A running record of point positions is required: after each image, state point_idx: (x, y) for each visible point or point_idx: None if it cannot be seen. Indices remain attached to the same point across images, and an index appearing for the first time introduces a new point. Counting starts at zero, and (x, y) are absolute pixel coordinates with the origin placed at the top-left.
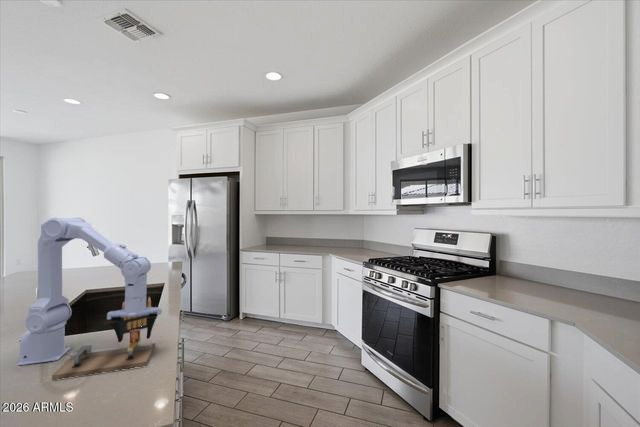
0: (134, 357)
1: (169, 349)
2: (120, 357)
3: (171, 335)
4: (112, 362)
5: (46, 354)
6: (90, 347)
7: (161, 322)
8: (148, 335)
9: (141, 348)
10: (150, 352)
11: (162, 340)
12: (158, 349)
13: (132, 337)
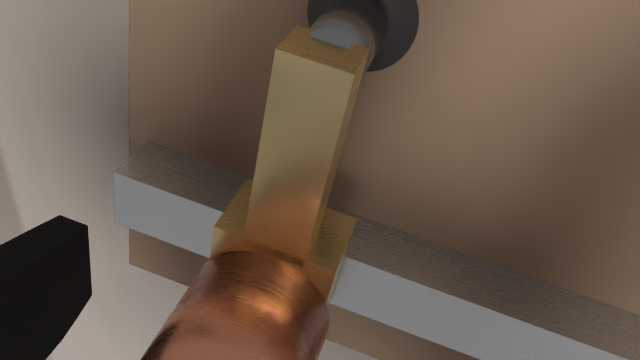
0: (308, 25)
1: (16, 108)
2: (474, 144)
3: (71, 355)
4: (597, 47)
5: None
6: None
7: None
8: (22, 244)
9: (229, 190)
10: (135, 59)
11: (121, 321)
12: None
13: (258, 331)
